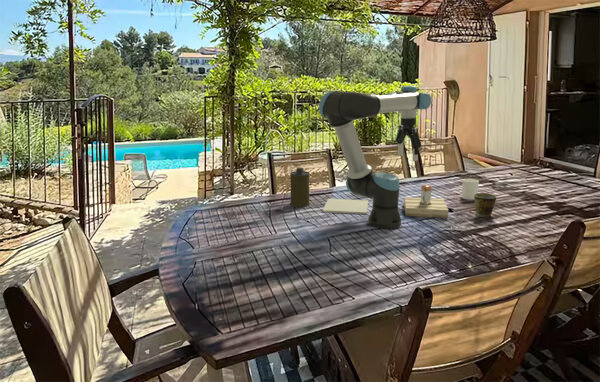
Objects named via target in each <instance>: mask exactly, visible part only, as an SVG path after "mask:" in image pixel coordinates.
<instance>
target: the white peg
mask: <svg viewBox="0 0 600 382" xmlns="http://www.w3.org/2000/svg"><path fill="white" fill-rule="evenodd" d="M420 188H421V189H420V198H421V202H420V205H430V200H431V198H432V185H429V184H422V185H421V187H420Z"/></svg>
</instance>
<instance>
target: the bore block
mask: <svg viewBox="0 0 600 382" xmlns="http://www.w3.org/2000/svg"><path fill="white" fill-rule="evenodd" d="M403 200H404V202H403V205H404V206H403V207H404V213H405V217H421V218H422V217H423V218H425V217H426V218H440V219H441V218H442V219H448V218H449V208H448V206H447V204H446V201H445V199H444V198H432V197H431V200H430V205H420V202H421V197H411V196H410V197H406V196H404V199H403Z"/></svg>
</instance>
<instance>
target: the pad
mask: <svg viewBox="0 0 600 382" xmlns="http://www.w3.org/2000/svg"><path fill="white" fill-rule="evenodd" d="M368 207H369V200H366V199H365V200H364V199H344V198H342V199H341V198H328V199H327V200H326V203H325V204H324V206H323V209H322V213H332V214H334V213H335V214H352V215H367V214H368Z"/></svg>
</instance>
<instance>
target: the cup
mask: <svg viewBox="0 0 600 382" xmlns="http://www.w3.org/2000/svg"><path fill="white" fill-rule="evenodd" d="M478 191H479V180H478V179H475V178H464V179H462V185H461V198H462V199H464V200H468V201H475V199H474V195H475V194H477V193H479V192H478Z"/></svg>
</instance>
